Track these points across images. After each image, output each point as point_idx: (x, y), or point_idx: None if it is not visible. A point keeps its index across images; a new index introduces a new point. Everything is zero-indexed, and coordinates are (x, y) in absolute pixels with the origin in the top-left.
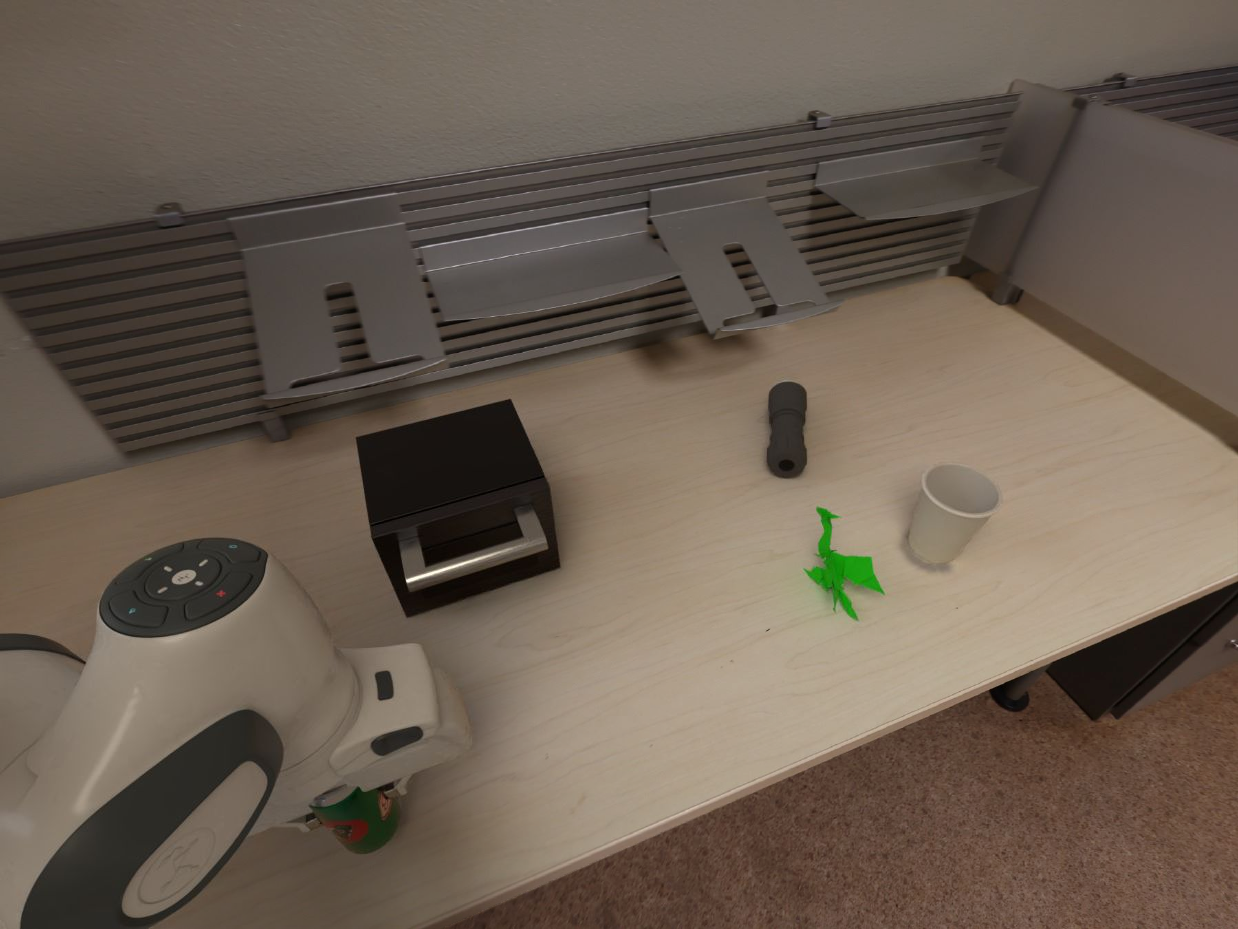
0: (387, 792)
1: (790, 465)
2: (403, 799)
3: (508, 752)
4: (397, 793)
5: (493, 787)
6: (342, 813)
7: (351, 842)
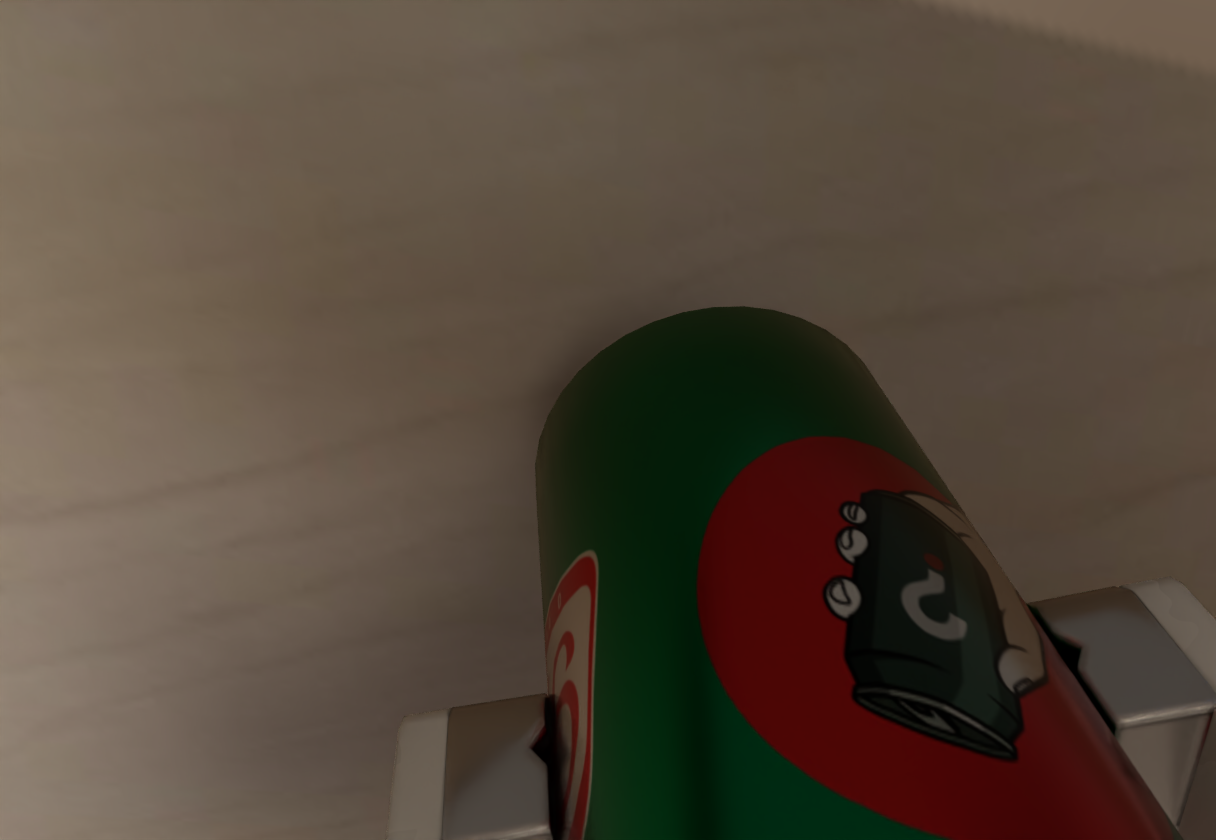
0: (520, 831)
1: None
2: None
3: (30, 609)
4: (457, 764)
5: (80, 475)
6: None
7: (834, 436)
